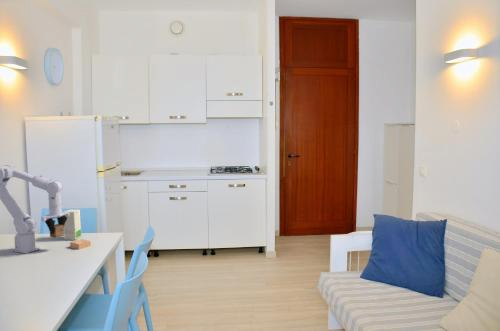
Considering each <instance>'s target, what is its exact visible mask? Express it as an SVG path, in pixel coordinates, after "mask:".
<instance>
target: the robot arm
mask: <svg viewBox="0 0 500 331" xmlns="http://www.w3.org/2000/svg"><path fill="white" fill-rule="evenodd" d="M11 178H18V179H21V180H22V181H26V182H30V183H31V185H32V186H33V187H35V188H37V189H40V190H44V191H46V193H48V194H47V195H48V213H49V214H47V215H43V216H41V222H44V223H45V224H46V226H47V228H48V230H49V231H48V232H49V234H50V233H51V234H54V225H56V220H57V224H60V225H65V222H66V220H67V217H66V216H69V215H70V214H69V212H68V211H67V210H65V211H66V212H65V211H63V207H62V204H63V203H62V189H63V184H62V183H61V182H60V181H59V180H53V178H50V179H49V178H48V177H45V176H44V175H43V174H40V175H39V174H38V175H35V176H34V175H33V174H30V173H28V172H25V171H24V170H21V169H19V168H17V167H15V166H10V165H8V164H7V165H2V166H0V201H1V203H2V204H3V205H4V207H5V208H6V210H7V212H9V214H10V215H11V217H12V218H13V225H14V228H15V231H16V234H15V235H14V239H13V240H14V249H13V251H14V252H16V253H21V254H28V253H30V252H31V253H32V252H35V251H38V250H40V248H39V247H36V235H35V234H36V232H35V228H36V227H37V223H36V220H35V219H34V218H32V217H31V216H30V215H29V214H28V213H27V212H26V213H25V211H24V210H23V208H22V207H21V206H20V204H19V202H18V201H17V199H16V198H15V197H14V196H13V194H12V192H11V191H10V190H9V188H8V186H7V185H8V183H9V181H10V179H11ZM54 219H56V220H54Z"/></svg>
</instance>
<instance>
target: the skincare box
mask: <svg viewBox="0 0 500 331" xmlns="http://www.w3.org/2000/svg"><path fill="white" fill-rule="evenodd" d="M66 211H68V212H69V214H70V215H69V216H66V217H67V220H66V222H65V225H64V236H63V237H64V239H63V240H64V241H77V240H79V238H81V237H82V224H81V223H82V222H81V210H80V209H68V210H67V209H66V210H65V211H64V212H66Z"/></svg>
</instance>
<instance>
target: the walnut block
mask: <svg viewBox="0 0 500 331" xmlns="http://www.w3.org/2000/svg"><path fill="white" fill-rule="evenodd" d="M49 237H50V238H53V239H54V238H55V239H57V238H61V237H64V225H60V224H58V223H57V224H56V223H55V225H54V234H51V233H50V232H49Z"/></svg>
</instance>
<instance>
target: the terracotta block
mask: <svg viewBox="0 0 500 331" xmlns="http://www.w3.org/2000/svg"><path fill="white" fill-rule="evenodd" d="M69 246H70V247H71V249H76V250H82V249H85V248H86V249H87V248H89V247H91V246H92V245H91V240H87V239H83V238H81V239H76V240H72V241H71V242H69Z"/></svg>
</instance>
